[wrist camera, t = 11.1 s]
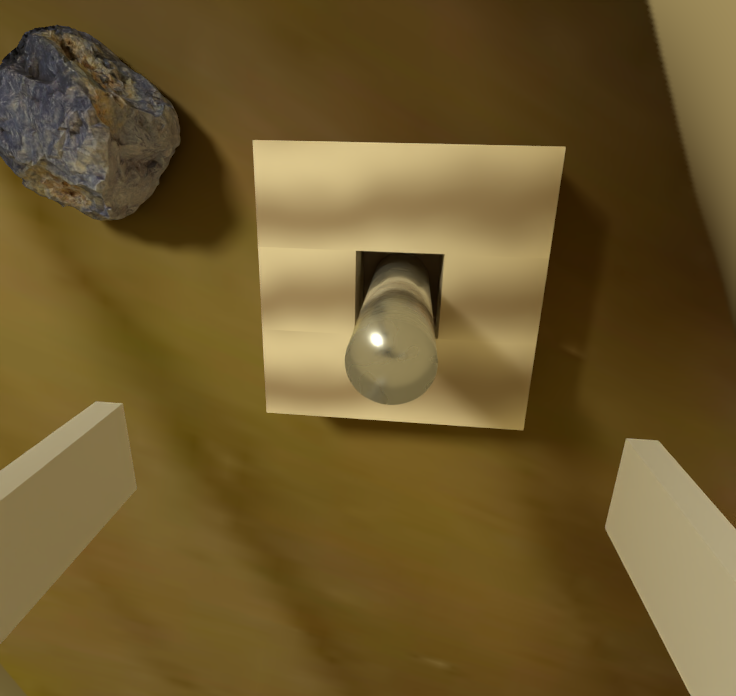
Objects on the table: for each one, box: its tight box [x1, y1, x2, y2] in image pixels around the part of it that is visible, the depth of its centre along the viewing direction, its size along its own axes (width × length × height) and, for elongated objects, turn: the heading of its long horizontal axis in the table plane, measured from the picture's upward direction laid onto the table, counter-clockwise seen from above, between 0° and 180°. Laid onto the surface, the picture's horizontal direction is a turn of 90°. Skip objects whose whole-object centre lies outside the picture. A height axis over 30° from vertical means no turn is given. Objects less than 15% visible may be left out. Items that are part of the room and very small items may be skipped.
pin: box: [345, 252, 438, 405], centre depth 29 cm, size 4×4×16 cm
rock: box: [0, 25, 181, 220], centre depth 33 cm, size 11×10×10 cm
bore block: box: [253, 140, 566, 430], centre depth 34 cm, size 18×18×6 cm
